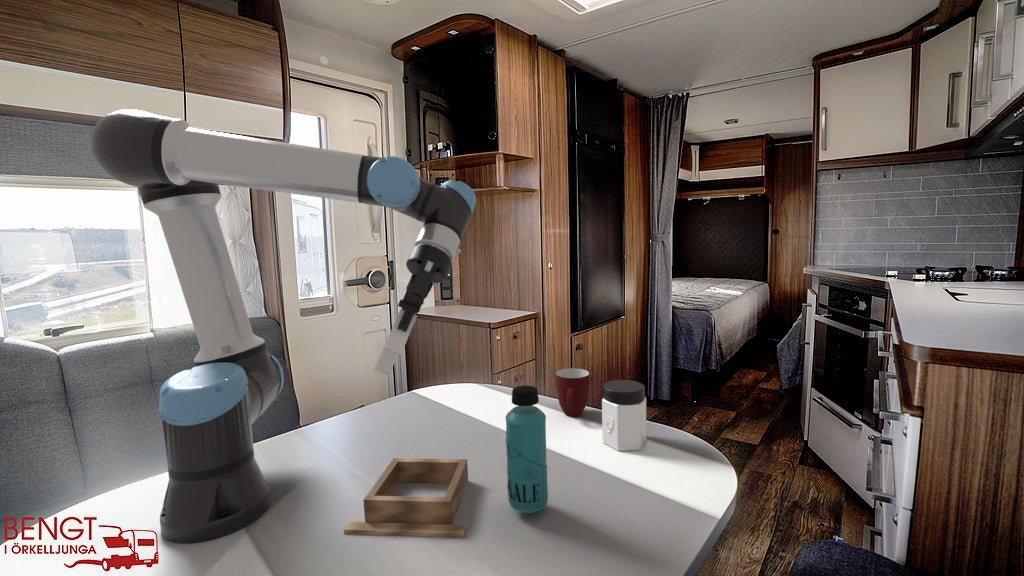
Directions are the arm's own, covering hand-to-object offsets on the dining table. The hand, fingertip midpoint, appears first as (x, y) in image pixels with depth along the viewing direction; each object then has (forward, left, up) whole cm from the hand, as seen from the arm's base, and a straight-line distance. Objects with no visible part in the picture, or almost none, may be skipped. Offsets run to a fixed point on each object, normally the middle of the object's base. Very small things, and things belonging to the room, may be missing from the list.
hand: (386, 362), depth 77 cm
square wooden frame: (+4, -1, -24) cm, 24 cm away
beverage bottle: (+22, -2, -24) cm, 33 cm away
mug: (+30, +37, -24) cm, 54 cm away
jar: (+40, +23, -24) cm, 52 cm away
